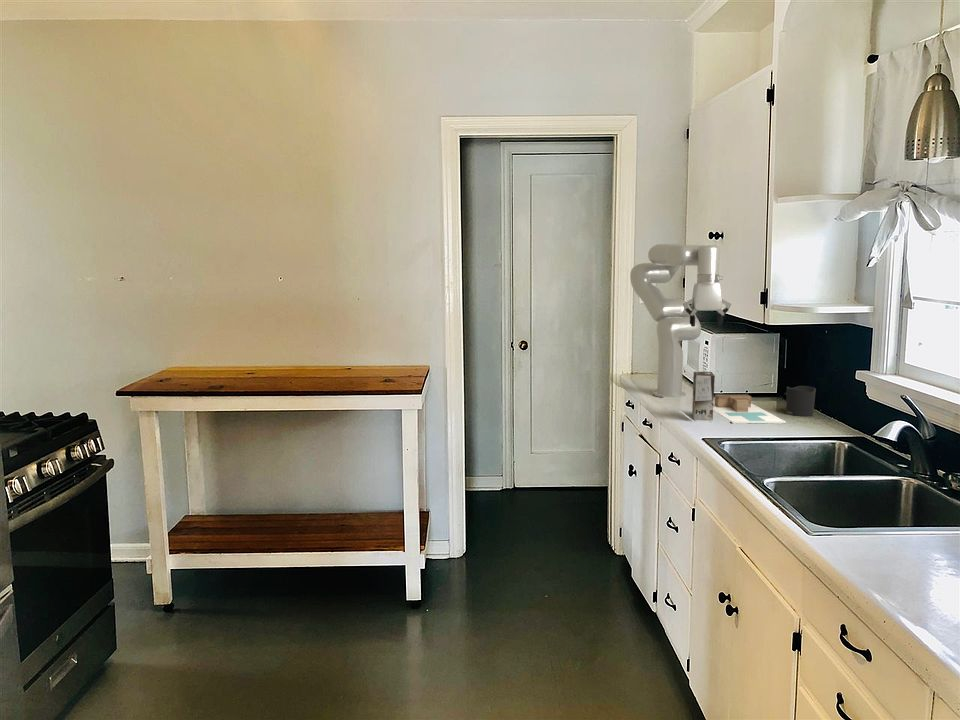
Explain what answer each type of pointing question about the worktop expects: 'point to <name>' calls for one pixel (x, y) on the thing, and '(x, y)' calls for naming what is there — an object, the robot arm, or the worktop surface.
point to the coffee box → (703, 396)
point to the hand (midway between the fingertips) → (706, 326)
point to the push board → (747, 415)
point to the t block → (734, 402)
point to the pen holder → (800, 401)
